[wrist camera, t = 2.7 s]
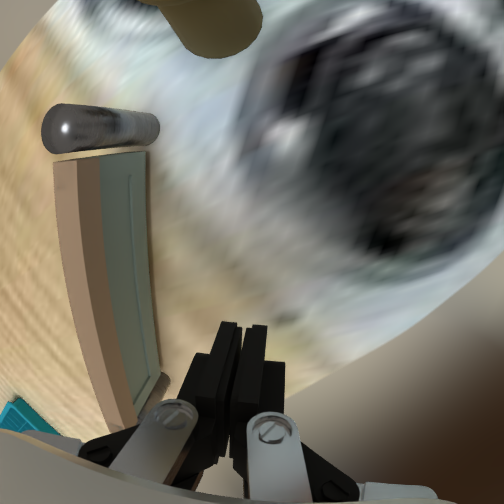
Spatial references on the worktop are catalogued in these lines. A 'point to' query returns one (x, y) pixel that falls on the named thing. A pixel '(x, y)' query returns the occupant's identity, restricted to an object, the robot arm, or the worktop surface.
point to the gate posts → (101, 137)
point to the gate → (109, 277)
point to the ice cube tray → (23, 418)
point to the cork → (212, 24)
